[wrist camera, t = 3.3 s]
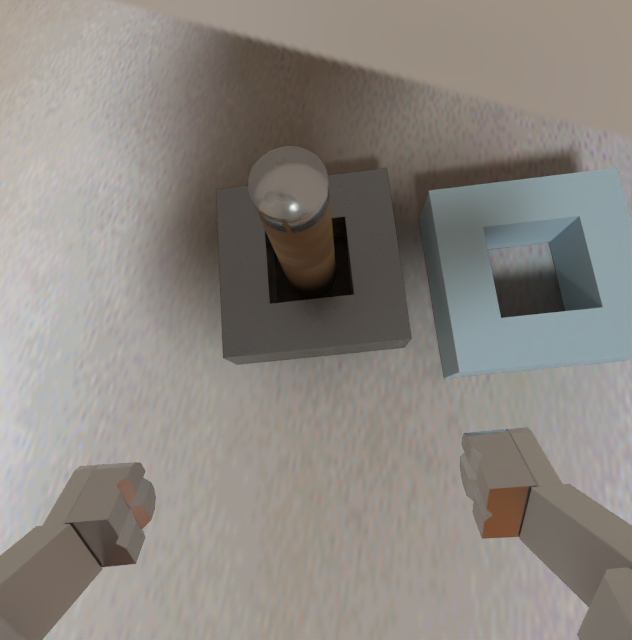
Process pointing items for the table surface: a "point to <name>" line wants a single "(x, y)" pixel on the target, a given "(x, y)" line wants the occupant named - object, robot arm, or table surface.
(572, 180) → the block
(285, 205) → the peg
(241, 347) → the socket block
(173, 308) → the table surface
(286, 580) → the table surface
